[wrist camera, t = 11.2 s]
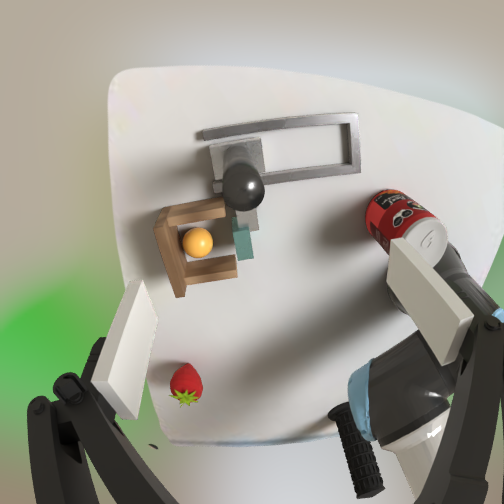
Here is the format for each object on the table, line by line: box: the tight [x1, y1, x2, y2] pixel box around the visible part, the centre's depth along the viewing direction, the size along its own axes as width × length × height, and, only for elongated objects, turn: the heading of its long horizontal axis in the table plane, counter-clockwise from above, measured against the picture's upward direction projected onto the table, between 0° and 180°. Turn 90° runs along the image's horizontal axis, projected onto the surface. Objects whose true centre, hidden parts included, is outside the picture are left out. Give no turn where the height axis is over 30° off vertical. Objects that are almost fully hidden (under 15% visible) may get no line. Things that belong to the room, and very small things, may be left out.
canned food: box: [365, 190, 448, 268], centre depth 37 cm, size 8×8×11 cm
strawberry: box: [169, 363, 203, 407], centre depth 50 cm, size 6×8×10 cm
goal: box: [153, 196, 238, 298], centre depth 39 cm, size 8×10×6 cm
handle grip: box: [328, 402, 385, 499], centre depth 58 cm, size 10×26×10 cm
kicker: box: [209, 137, 265, 261], centre depth 33 cm, size 6×14×14 cm, turn 8°
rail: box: [203, 113, 361, 193], centre depth 36 cm, size 19×8×1 cm, turn 98°
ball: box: [183, 228, 213, 258], centre depth 40 cm, size 4×4×4 cm
